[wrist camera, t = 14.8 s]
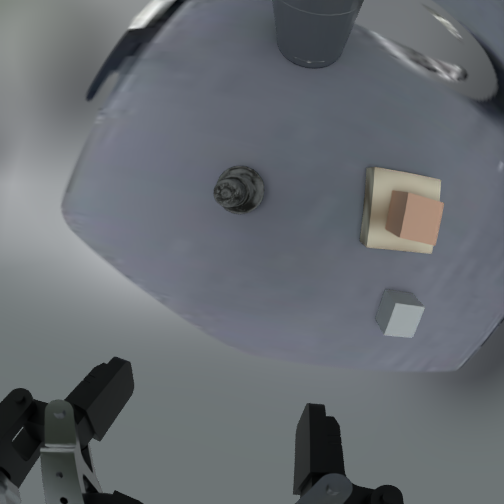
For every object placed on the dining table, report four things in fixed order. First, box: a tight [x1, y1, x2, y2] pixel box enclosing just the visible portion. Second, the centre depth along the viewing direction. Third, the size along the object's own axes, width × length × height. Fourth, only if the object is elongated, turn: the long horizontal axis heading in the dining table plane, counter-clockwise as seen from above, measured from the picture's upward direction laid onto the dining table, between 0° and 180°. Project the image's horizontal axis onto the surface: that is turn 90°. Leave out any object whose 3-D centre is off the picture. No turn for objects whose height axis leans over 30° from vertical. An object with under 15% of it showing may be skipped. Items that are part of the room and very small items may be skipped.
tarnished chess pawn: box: [214, 166, 264, 214], centre depth 30 cm, size 6×6×12 cm
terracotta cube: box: [385, 190, 444, 246], centre depth 28 cm, size 5×5×5 cm
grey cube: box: [375, 289, 425, 338], centre depth 35 cm, size 5×5×5 cm
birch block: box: [360, 167, 441, 254], centre depth 32 cm, size 10×10×4 cm
